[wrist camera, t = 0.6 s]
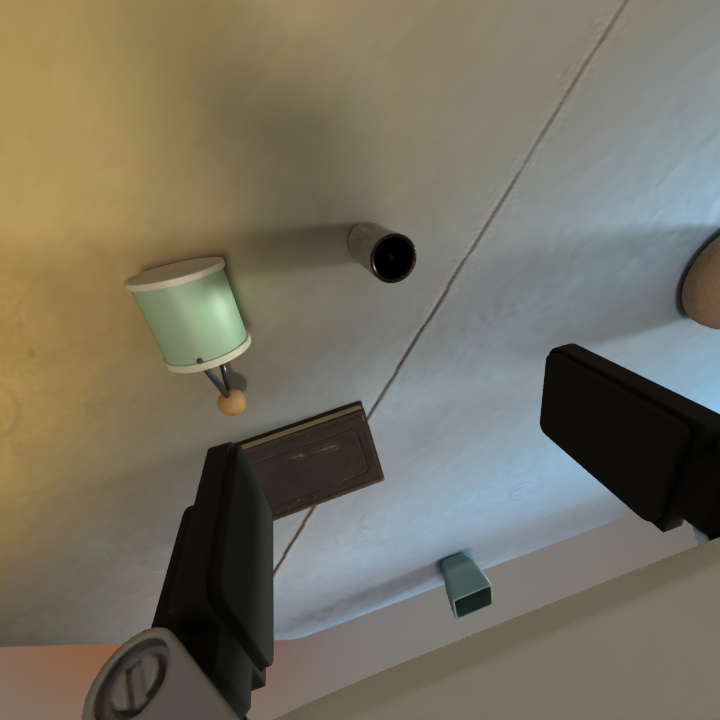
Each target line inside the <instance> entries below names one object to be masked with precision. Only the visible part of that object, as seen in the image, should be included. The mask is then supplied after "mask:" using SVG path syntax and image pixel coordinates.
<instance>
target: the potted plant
mask: <svg viewBox="0 0 720 720" xmlns="http://www.w3.org/2000/svg"><path fill="white" fill-rule="evenodd" d="M682 303H683V307H684V310H685V311H686V313H687V314H688V315H689V316H690V317H691V318H692V319H693V320H694V321H695V322H697V323H699V324H701V325H704V326H707V327H710V328H713V329H720V236H719V237H717V238H716V239H715V240H714V241H712V242H711V243H710V244H709V245H708V246H707V247H706V248H705V249H704V250H703V251H702V252H701V253H700V254H699V256H698V257H697V259H696V260H695V262H694V263H693V264H692V266H691V268H690V270H689V272H688V274H687V276H686V278H685V281H684V285H683V288H682Z"/></svg>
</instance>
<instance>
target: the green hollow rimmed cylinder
mask: <svg viewBox="0 0 720 720" xmlns="http://www.w3.org/2000/svg"><path fill="white" fill-rule="evenodd" d="M224 266H225V262H224V259H223V258H221V257H205V258H197V259H191V260H186V261H181V262H177V263H173V264H168V265H165V266H161V267H158V268H154V269H151V270H148V271H145V272H142V273H140V274H137V275H135V276H133V277H131V278H129V279H127V280H126V281H125V282H124V286H125V288H126V290H127V291H131V292H132V294H133V296H134V298H135V299H136V301H137V303H138V305H139V307H140V309H141V311H142V313H143V315H144V317H145V319H146V321H147V323H148V325H149V327H150V329H151V331H152V333H153V335H154V337H155V339H156V341H157V343H158V345H159V347H160V349H161V351H162V353H163V354H164V358H163V361H164V364H165V366H166V368H167V369H168V370H169V371H171V372H175V373H193V372H199V371H204V372H205V373H206V374H207V376H208V377H209V378H210V379H211V381H212V382H213V383H214V384H215V386H216V387H217V388H218V389H219V391H220V392H221V395H220V396H219V398H218V408H219V410H220V411H221V412H222V413H224V414H225V415H229V416H234V415H237V414H239V413H241V412H242V411H243V410H244V408H245V406H246V398H245V395H244V394H243V393H242V392H241V391H240V390H237V389H231V386H230V382H229V378H228V374H227V370H226V367H225V363H226V362H228V361H230V360H232V359H234V358H236V357H237V356H239V355H240V354H242V353H243V352H244V351H245V350H246V349H247V348H248V347H249V346H250V344H251V336H250V334H249V332H248V331H247V330H246V329H245V328H244V325H243V322H242V319H241V317H240V314H239V311H238V308H237V305H236V303H235V300H234V297H233V294H232V291H231V288H230V286H229V283H228V280H227V277H226V274H225V272H224V269H223V267H224ZM219 365H220V369H221V373H222V376H223V380H224V384H225V388H226V389H225V388H224V386H223V385H222V384H221V383H220V381H219V380H218V379H217V377H216V376H215V375H214V373H213V372H212V371H211V368H214V367H217V366H219Z"/></svg>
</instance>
